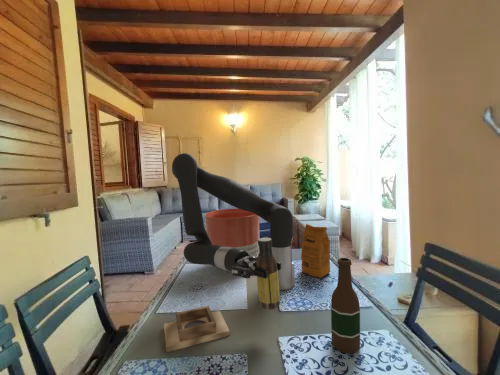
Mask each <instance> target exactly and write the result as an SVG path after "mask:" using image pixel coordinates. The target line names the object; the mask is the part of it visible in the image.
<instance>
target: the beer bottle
mask: <svg viewBox="0 0 500 375" xmlns="http://www.w3.org/2000/svg"><path fill="white" fill-rule="evenodd" d="M352 264H353V263H352V259H351V258H348V257H340V258H338V259H337V265H338V268H337V272H338V273H337V285H336V287H335V289H334V290H333V292H332V294H331V300H330V301H331V302H330V306H331V307H330V314H331V316H330V320H331V345H332V347H334V348H335V349H336V350H337V351H338V352H340V353H344V354H345V353H346V354H350V355H352V354H354V353H357V352H358V351H360V350H361V308H360V302H359V297H358V294H357V292H356V291H355V289H354V288H353V281H352V269H351V266H352Z"/></svg>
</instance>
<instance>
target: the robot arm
mask: <svg viewBox="0 0 500 375" xmlns="http://www.w3.org/2000/svg"><path fill="white" fill-rule="evenodd" d="M171 173H172V175H173V176H174V178H176V180H177V182H178V187H179V191H180V197H181V210H182V211H181V212H182V218H183V226H184V230H185V231H184V232H185V234H186V235H187V236H191V237H192V236H193V237H194V238H195V240H196V241H194V242H190V243H188V244H186V245H185V247H184V249H183V257H184V259H185V260H186V261H187V262H189V263H190V264H194V265H209V266H212V267H216V268H219V269H221V270H223V271H225V272H228V273H229V272H230V273H232V276H235V277H239V278H243V279H251V277H253V278H255V277H257V276H258V277H261V278H265V279H266V278H268V271H267V270H264V269H260V268H257V266H256V262H257V259H258V257H259V253H258V254H257V256H256V257H255V256H249V255H248V253H247V252H246V251H245V250H241V249H237V248H232V247H224V246H219V245H212V243H211V241H210V239H209V236H208V234H207V232H206V227H205V224H204V223H205V222H204V217H203V212H202V207H201V201H200V196H199V189H200V190H203V191H204V192H206V193H207V194H210V195H211V196H213V197H215V198H217V199H218V200H220V201H222V202H224V203H226V204H228V205H230V206H231V207H234V208H235V209H242V210H245V211H248V212H251V213H254V214H256V215H257V216H259V218H261V219H263V220H264V221H265V222H267V223H268V224H269V231H270V232H269V234H270V235H269V238H271V239H272V255H273V256H274V257H275V259H276V261H277V269H278V280H279V291H284V290H289V289H292V287H295V286H296V284H295V283H296V282H295V279H296V278H295V263H294V262H293V257H292V256H293V253H292V252H293V251H292V250H293V249H292V248H293V247H292V245H293V244H292V242H293V236H294V220H293V219H294V218H293V214H292V212H291V210H290V209H289V208H287V207H285V206H283V205H281V204H278V203H275V202H272V201H270V200H267V199H265V198H263V197H261V196H259V194H256V193H255V192H254V191H253V190H252V189H250V188H248V187H246V186H245V185H244V184H241V183H239V182H237V180H234V179H231V178H228V177H225V176H221V175H217V174H214V173H212V172H209V171H207V170H205V169H203V168H202V167H200V166H199V165H198V162H197V159H195V157H194V156H193V155H191V154H189V153H180V154H178V155H176V156H175V157H174V159H173V160H172V163H171ZM198 188H199V189H198Z"/></svg>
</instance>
